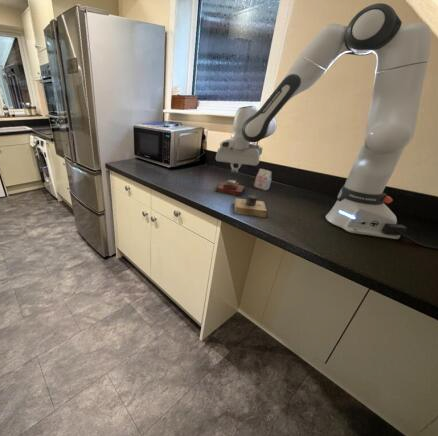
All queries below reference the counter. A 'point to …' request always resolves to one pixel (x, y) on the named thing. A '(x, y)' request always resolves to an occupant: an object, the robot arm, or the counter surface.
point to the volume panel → (250, 208)
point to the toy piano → (230, 188)
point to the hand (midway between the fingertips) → (234, 171)
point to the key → (231, 182)
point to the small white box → (263, 179)
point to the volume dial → (251, 200)
